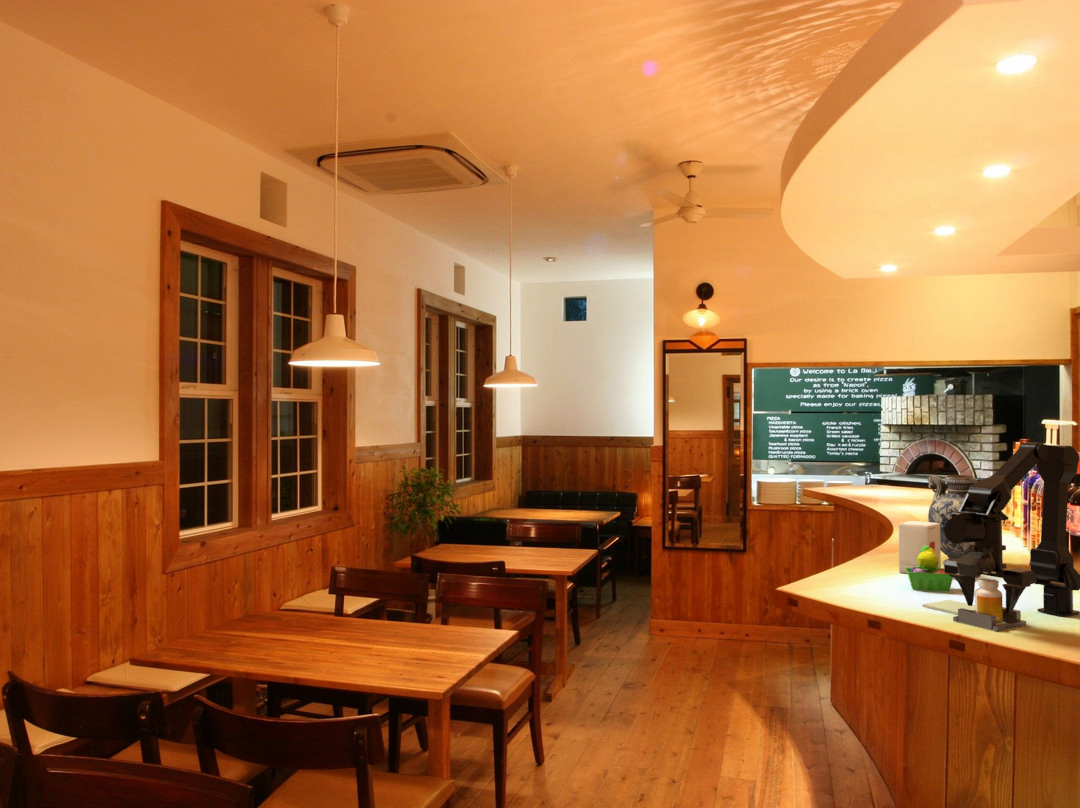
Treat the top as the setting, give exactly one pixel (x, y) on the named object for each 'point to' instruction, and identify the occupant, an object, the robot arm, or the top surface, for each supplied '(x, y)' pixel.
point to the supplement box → (917, 542)
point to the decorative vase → (949, 509)
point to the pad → (949, 606)
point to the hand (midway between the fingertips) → (989, 609)
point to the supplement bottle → (989, 599)
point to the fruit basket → (929, 573)
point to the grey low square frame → (989, 619)
